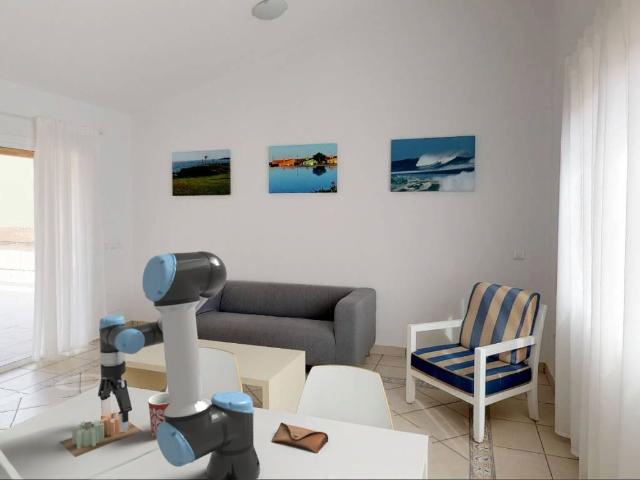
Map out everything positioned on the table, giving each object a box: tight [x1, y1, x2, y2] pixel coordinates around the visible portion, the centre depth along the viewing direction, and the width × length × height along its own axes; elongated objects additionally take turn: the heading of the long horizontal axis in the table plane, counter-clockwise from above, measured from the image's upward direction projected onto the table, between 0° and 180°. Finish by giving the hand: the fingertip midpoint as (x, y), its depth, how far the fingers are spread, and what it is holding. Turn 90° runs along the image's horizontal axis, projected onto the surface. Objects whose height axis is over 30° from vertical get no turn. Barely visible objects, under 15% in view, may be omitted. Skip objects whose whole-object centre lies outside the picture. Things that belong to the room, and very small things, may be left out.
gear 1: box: [71, 419, 104, 449], centre depth 140 cm, size 9×8×5 cm
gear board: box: [59, 412, 143, 458], centre depth 144 cm, size 13×21×8 cm, turn 139°
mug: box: [147, 392, 169, 439], centre depth 147 cm, size 13×9×14 cm
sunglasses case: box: [270, 422, 329, 454], centre depth 144 cm, size 18×7×7 cm, turn 67°
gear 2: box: [99, 410, 127, 437], centre depth 147 cm, size 9×8×5 cm
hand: (115, 424), depth 147 cm, fingers open, 13 cm apart
